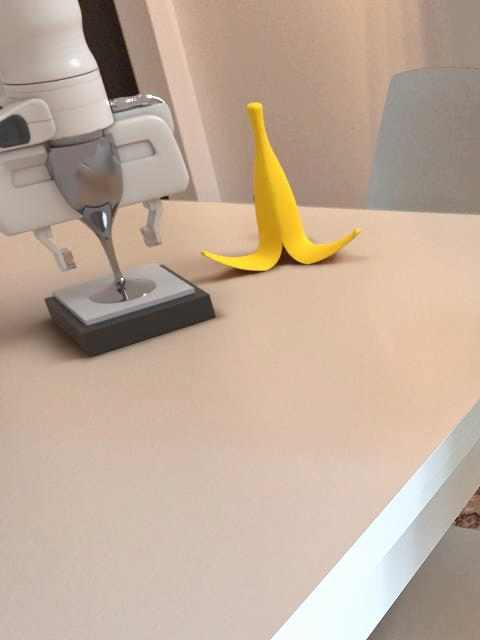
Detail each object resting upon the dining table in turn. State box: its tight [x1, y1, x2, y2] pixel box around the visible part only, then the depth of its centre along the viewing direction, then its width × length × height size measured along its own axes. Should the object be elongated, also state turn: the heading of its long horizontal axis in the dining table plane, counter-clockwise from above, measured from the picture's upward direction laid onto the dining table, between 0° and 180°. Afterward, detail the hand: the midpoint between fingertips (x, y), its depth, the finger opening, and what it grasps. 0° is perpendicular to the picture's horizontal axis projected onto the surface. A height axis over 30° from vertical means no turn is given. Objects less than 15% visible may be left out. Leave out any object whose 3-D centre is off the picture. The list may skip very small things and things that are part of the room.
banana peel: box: [200, 102, 362, 272], centre depth 108 cm, size 17×19×17 cm
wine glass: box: [45, 133, 156, 303], centre depth 95 cm, size 8×8×15 cm
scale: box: [43, 262, 216, 358], centre depth 101 cm, size 14×14×3 cm
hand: (111, 256), depth 98 cm, fingers open, 8 cm apart
